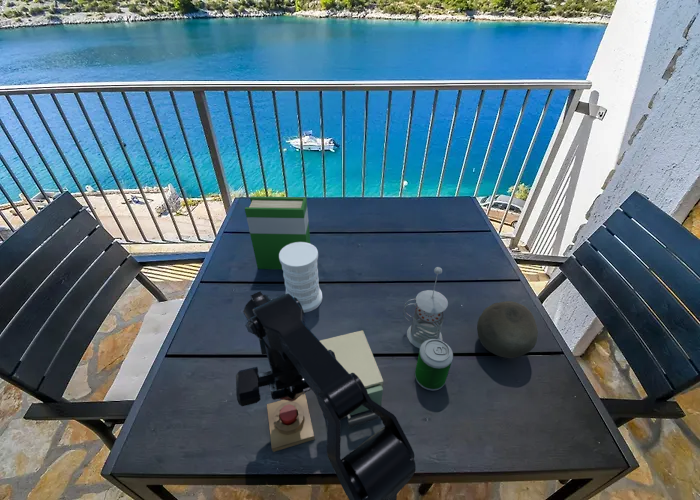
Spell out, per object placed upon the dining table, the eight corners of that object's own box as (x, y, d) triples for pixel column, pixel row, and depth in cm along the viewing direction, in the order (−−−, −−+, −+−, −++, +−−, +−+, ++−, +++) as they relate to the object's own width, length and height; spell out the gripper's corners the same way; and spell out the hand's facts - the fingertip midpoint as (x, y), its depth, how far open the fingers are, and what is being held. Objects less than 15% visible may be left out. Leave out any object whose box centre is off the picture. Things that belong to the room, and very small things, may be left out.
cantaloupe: (463, 353, 92) (476, 316, 83) (480, 319, 102) (494, 282, 92) (519, 381, 86) (539, 344, 77) (531, 342, 95) (551, 304, 86)
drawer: (388, 425, 77) (390, 408, 72) (338, 440, 74) (337, 424, 70) (362, 358, 90) (363, 340, 86) (320, 369, 88) (318, 351, 83)
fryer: (381, 402, 82) (383, 381, 76) (329, 417, 79) (327, 396, 73) (362, 351, 93) (362, 330, 87) (315, 363, 90) (313, 341, 84)
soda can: (447, 393, 84) (457, 364, 76) (416, 392, 84) (423, 363, 76) (441, 365, 90) (450, 336, 82) (412, 365, 90) (418, 336, 82)
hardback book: (257, 268, 119) (244, 208, 104) (262, 255, 125) (250, 196, 110) (309, 269, 119) (303, 209, 104) (311, 256, 124) (306, 197, 110)
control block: (314, 439, 75) (313, 432, 73) (272, 452, 73) (270, 445, 71) (305, 397, 83) (304, 389, 81) (267, 407, 81) (265, 400, 79)
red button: (298, 422, 75) (297, 418, 74) (281, 426, 74) (280, 423, 73) (295, 406, 78) (294, 402, 77) (279, 411, 77) (278, 407, 76)
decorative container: (316, 315, 103) (312, 270, 92) (279, 309, 105) (270, 263, 94) (326, 288, 112) (324, 244, 100) (292, 283, 114) (286, 238, 102)
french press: (440, 354, 92) (458, 286, 77) (397, 342, 95) (406, 275, 80) (444, 326, 100) (461, 259, 84) (404, 316, 102) (414, 250, 87)
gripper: (326, 308, 69) (328, 355, 79) (228, 329, 65) (244, 375, 75) (340, 356, 61) (341, 401, 70) (229, 382, 57) (246, 426, 66)
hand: (292, 398), depth 71 cm, fingers closed
